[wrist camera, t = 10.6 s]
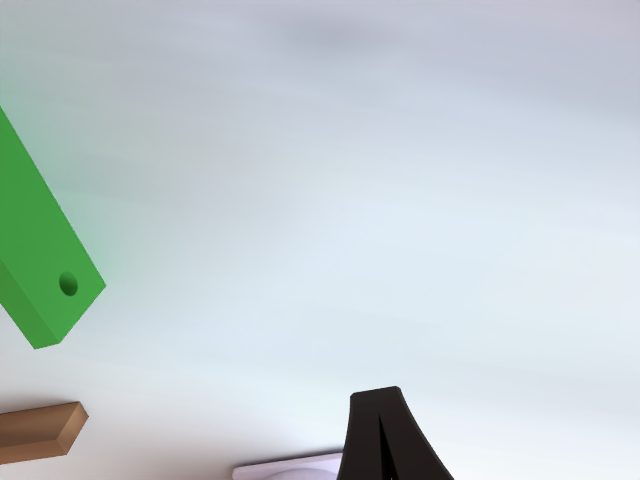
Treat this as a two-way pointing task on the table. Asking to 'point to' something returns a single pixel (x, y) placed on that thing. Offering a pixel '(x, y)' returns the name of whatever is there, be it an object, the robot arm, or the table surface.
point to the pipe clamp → (39, 251)
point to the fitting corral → (40, 432)
